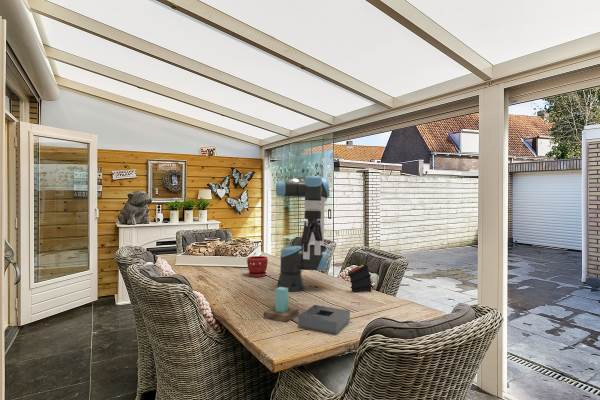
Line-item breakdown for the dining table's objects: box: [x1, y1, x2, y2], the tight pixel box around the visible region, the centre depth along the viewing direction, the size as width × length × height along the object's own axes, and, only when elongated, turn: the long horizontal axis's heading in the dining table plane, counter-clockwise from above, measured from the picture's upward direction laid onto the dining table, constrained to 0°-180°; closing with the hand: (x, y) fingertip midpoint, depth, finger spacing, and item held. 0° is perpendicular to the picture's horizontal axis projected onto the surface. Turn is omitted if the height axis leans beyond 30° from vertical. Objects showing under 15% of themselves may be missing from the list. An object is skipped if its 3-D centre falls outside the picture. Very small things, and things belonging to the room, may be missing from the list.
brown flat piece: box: [263, 305, 300, 323], centre depth 155 cm, size 11×11×2 cm
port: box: [297, 304, 351, 335], centre depth 146 cm, size 16×16×4 cm
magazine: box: [347, 263, 373, 293], centre depth 198 cm, size 4×13×15 cm, turn 107°
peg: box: [274, 287, 289, 313], centre depth 155 cm, size 4×4×12 cm
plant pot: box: [246, 255, 269, 278], centre depth 231 cm, size 13×13×12 cm
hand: (312, 257), depth 163 cm, fingers open, 13 cm apart
